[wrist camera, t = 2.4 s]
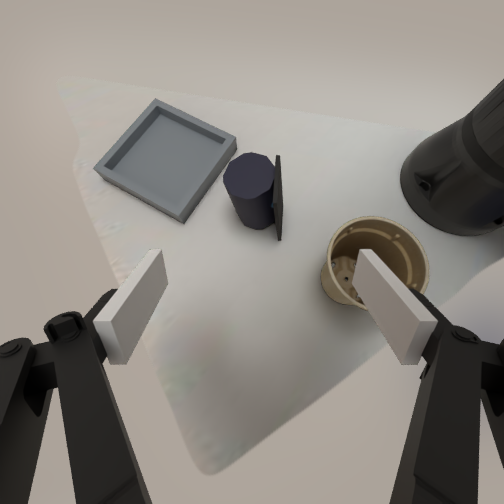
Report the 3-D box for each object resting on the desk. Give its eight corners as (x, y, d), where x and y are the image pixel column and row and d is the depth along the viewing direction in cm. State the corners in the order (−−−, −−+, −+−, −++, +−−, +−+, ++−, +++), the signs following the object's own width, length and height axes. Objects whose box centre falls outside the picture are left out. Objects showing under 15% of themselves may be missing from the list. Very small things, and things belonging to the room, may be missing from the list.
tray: (237, 149, 37) (235, 136, 35) (183, 223, 33) (178, 215, 31) (161, 112, 39) (155, 98, 37) (103, 179, 35) (92, 168, 33)
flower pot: (321, 233, 33) (344, 202, 25) (390, 259, 32) (438, 236, 24) (297, 298, 30) (313, 288, 22) (371, 330, 29) (418, 331, 21)
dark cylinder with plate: (297, 205, 34) (304, 155, 24) (280, 241, 33) (280, 205, 23) (248, 187, 36) (235, 134, 26) (230, 221, 34) (209, 179, 24)
